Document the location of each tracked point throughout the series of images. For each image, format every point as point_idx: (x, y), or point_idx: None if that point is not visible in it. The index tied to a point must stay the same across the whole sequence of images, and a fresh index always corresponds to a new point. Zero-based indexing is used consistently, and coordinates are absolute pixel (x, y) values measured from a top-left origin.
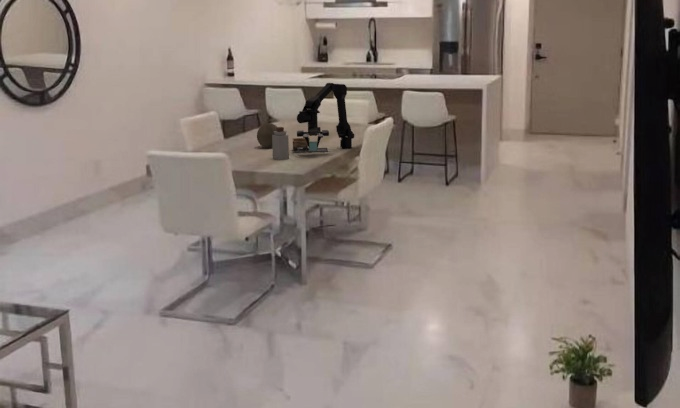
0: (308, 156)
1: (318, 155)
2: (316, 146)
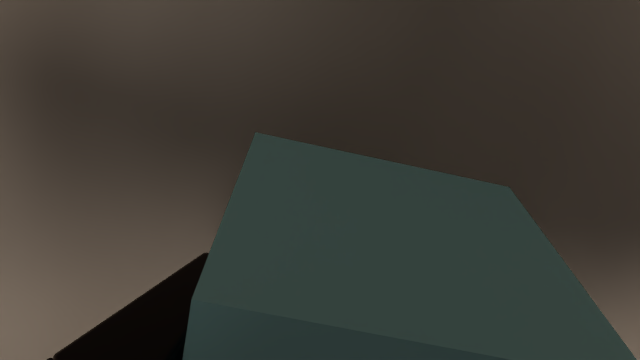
0: (538, 31)
1: (243, 79)
2: (261, 198)
